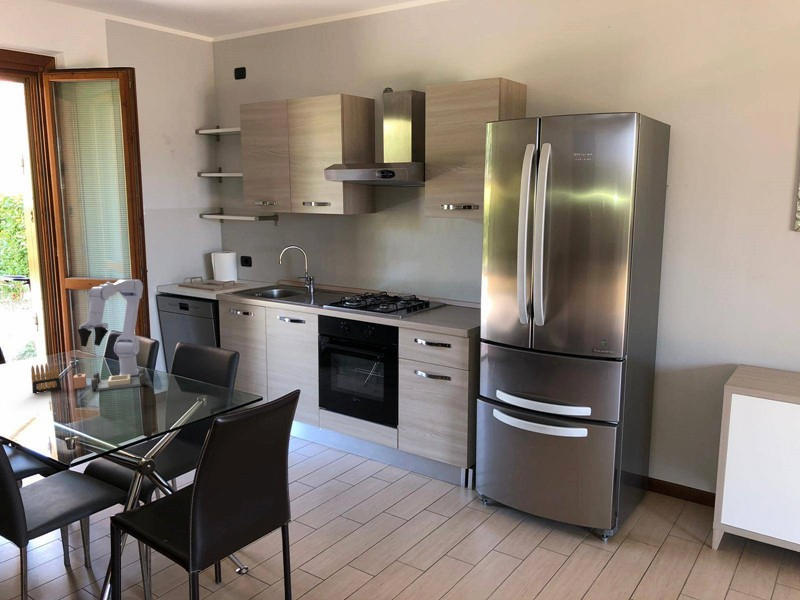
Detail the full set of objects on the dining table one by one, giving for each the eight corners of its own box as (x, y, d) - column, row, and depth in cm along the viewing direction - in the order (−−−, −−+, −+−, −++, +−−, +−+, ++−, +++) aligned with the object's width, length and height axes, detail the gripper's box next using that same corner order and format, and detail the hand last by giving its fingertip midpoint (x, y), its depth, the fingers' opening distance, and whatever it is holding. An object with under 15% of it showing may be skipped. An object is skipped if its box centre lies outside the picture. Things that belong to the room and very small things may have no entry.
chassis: (95, 382, 295) (94, 371, 294) (145, 377, 302) (145, 366, 301) (92, 391, 282) (91, 380, 281) (145, 386, 289) (144, 374, 288)
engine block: (75, 386, 291) (74, 373, 290) (86, 384, 292) (85, 372, 291) (74, 388, 287) (73, 375, 286) (85, 387, 288) (84, 374, 287)
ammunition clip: (33, 393, 281) (30, 366, 279) (32, 392, 282) (29, 365, 280) (61, 388, 287) (58, 361, 285) (60, 387, 288) (57, 361, 286)
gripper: (75, 313, 280) (69, 344, 277) (100, 310, 275) (95, 342, 271) (88, 317, 287) (83, 348, 283) (114, 314, 281) (109, 346, 277)
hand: (90, 345), depth 277 cm, fingers open, 7 cm apart
